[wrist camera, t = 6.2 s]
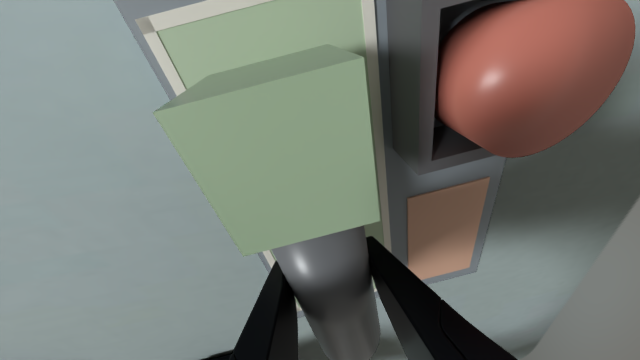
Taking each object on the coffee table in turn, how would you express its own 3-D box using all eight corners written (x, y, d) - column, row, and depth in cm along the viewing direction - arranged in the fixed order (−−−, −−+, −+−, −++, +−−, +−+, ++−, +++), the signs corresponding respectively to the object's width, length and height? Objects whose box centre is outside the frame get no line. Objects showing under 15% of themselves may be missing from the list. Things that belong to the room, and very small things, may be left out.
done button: (520, 113, 9) (592, 138, 7) (423, 138, 9) (465, 171, 7) (554, -14, 7) (672, -31, 5) (427, 20, 7) (490, 17, 5)
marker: (372, 302, 14) (395, 371, 11) (317, 316, 14) (326, 389, 11) (328, 43, 6) (363, 56, 4) (208, 75, 7) (153, 112, 4)
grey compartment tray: (471, 265, 18) (501, 303, 16) (294, 310, 18) (296, 355, 16) (567, -142, 7) (725, -235, 5) (112, -21, 7) (20, -46, 5)
